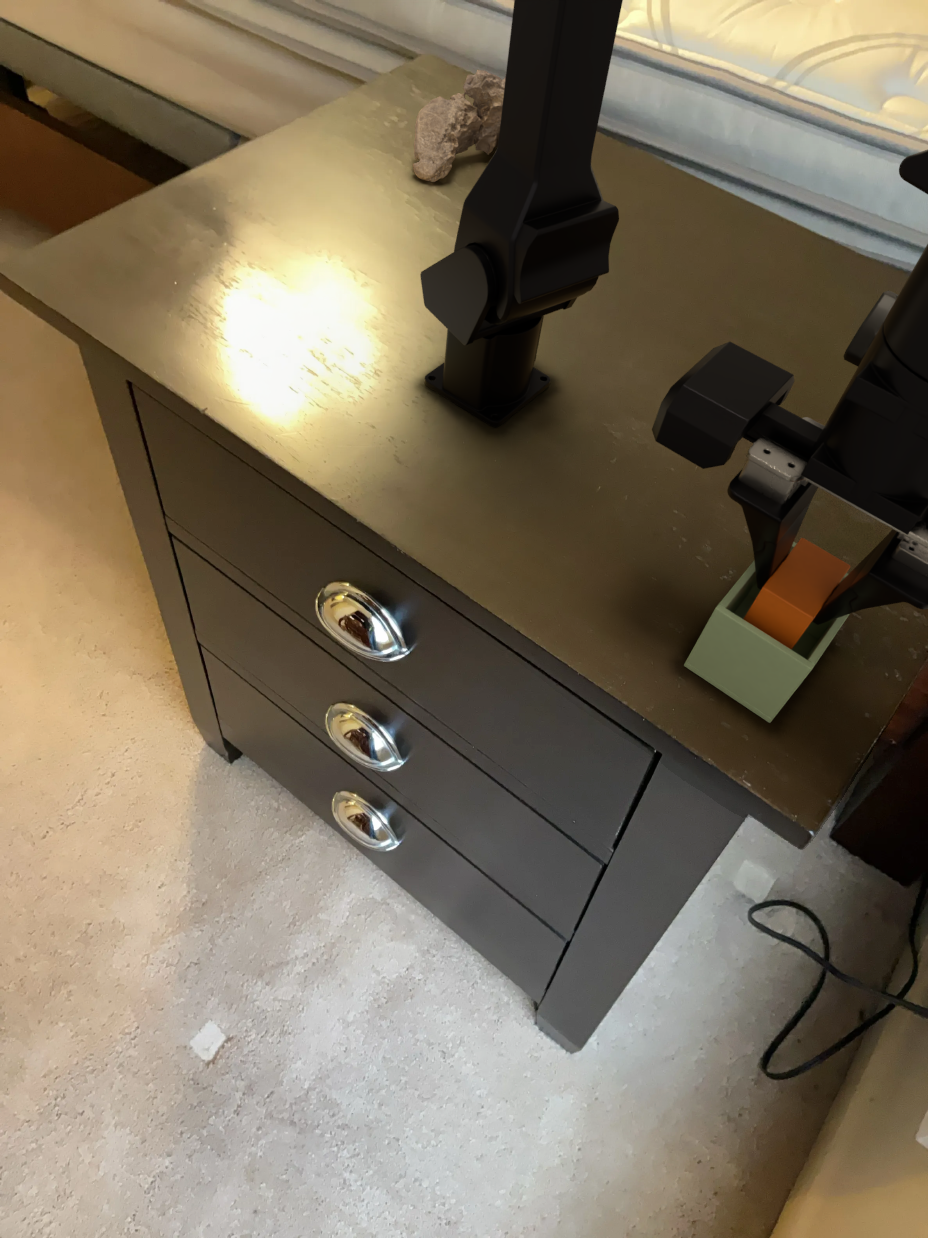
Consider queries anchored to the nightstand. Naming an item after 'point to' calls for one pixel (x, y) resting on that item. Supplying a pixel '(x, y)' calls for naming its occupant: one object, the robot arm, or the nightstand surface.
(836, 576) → the orange block
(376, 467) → the nightstand surface
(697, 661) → the trash bin
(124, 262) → the nightstand surface
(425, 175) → the rock
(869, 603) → the robot arm
